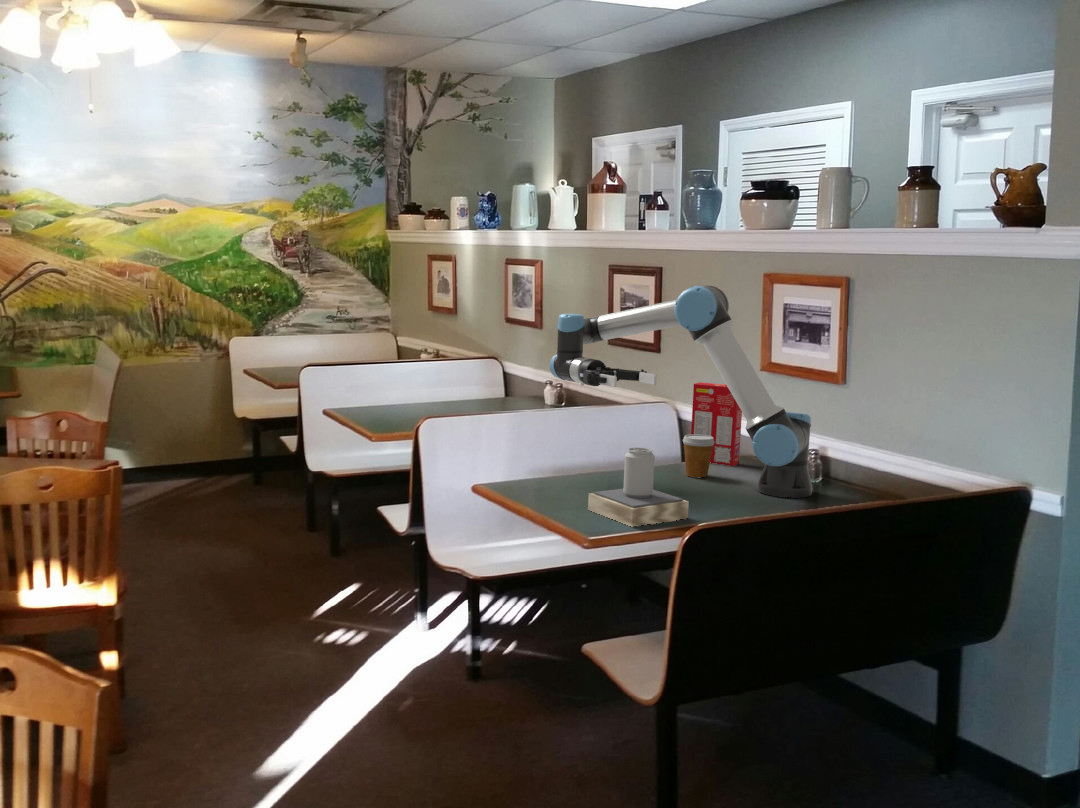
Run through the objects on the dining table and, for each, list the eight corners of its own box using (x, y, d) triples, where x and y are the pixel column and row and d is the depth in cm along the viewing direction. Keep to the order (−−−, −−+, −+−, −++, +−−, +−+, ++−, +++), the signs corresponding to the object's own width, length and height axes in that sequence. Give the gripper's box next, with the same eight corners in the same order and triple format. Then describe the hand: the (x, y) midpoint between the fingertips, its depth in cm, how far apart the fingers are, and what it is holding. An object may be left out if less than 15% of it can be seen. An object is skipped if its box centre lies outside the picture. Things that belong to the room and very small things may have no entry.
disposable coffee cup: (713, 474, 319) (715, 435, 317) (711, 480, 310) (713, 440, 308) (682, 471, 321) (684, 433, 319) (679, 478, 312) (681, 438, 310)
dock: (642, 503, 279) (643, 484, 278) (687, 518, 264) (688, 499, 263) (587, 510, 269) (588, 491, 268) (631, 527, 254) (632, 507, 253)
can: (651, 499, 262) (653, 452, 260) (621, 497, 263) (623, 450, 261) (653, 493, 269) (656, 447, 267) (624, 491, 270) (626, 445, 268)
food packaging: (738, 463, 336) (743, 386, 333) (733, 466, 332) (738, 388, 328) (695, 457, 343) (699, 382, 339) (689, 460, 339) (693, 383, 335)
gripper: (623, 382, 305) (670, 392, 287) (552, 386, 291) (597, 397, 274) (624, 357, 304) (672, 365, 286) (553, 359, 290) (598, 368, 273)
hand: (635, 380), depth 280 cm, fingers open, 13 cm apart
